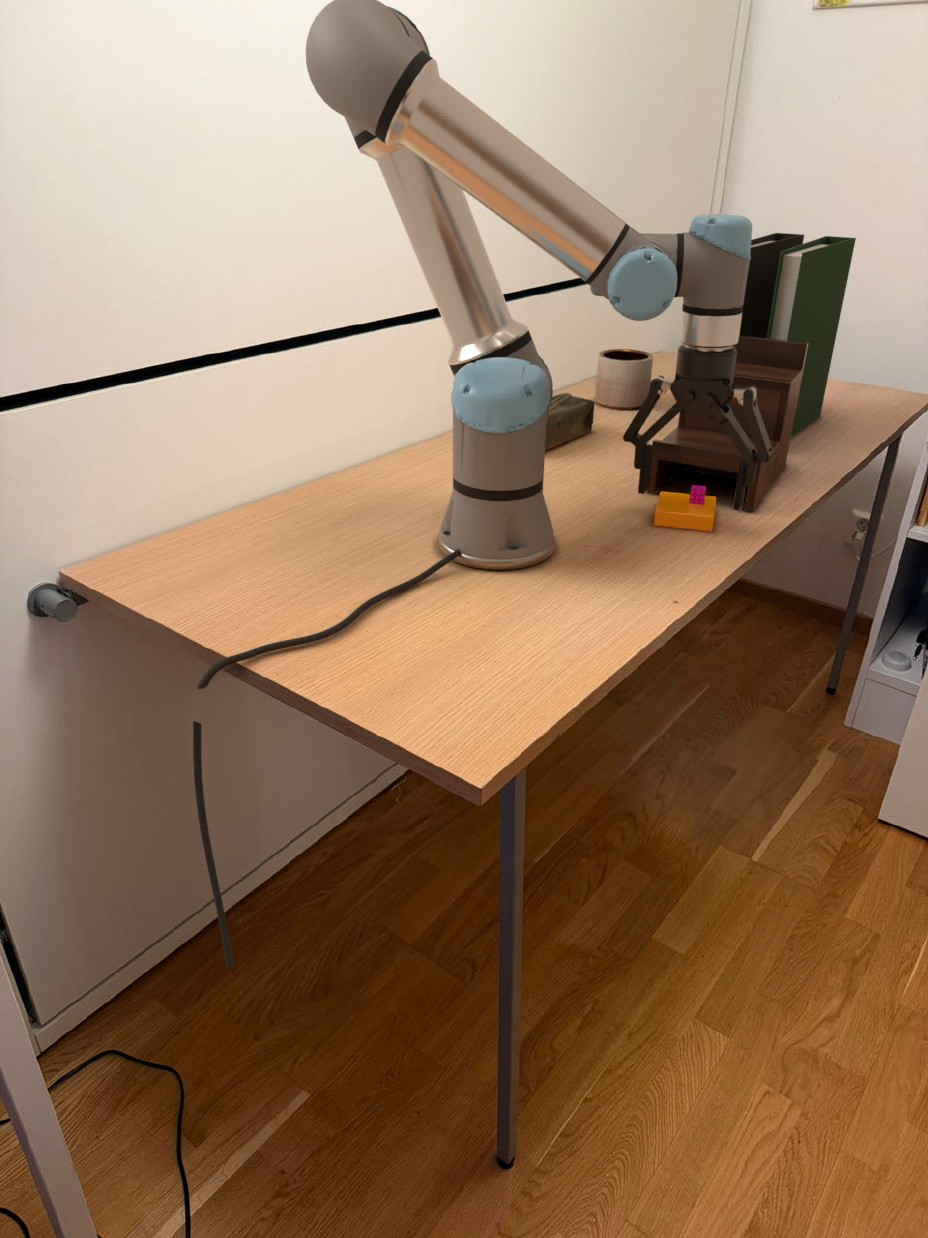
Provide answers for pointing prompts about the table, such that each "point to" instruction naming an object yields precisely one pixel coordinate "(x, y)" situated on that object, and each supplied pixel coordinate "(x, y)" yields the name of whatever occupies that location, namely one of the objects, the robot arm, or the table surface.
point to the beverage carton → (568, 419)
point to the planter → (623, 378)
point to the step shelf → (740, 420)
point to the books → (799, 304)
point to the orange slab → (686, 510)
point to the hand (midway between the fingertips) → (689, 498)
